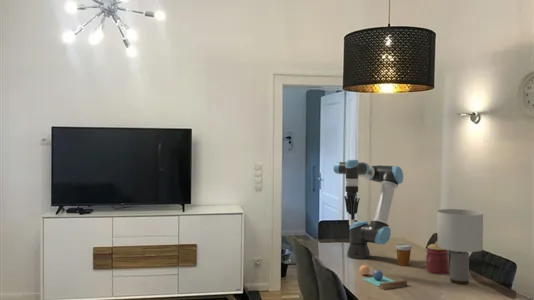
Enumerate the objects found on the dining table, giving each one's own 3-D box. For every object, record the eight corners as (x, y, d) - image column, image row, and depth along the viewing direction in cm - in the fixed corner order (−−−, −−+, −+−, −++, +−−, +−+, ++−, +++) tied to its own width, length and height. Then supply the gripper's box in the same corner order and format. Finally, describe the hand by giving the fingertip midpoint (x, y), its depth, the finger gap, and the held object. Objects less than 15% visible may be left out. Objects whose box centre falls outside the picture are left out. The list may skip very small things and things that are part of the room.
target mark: (361, 279, 252) (361, 278, 252) (382, 276, 258) (382, 275, 258) (377, 286, 240) (377, 285, 240) (399, 283, 245) (399, 282, 245)
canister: (448, 269, 272) (448, 240, 272) (449, 275, 260) (450, 244, 260) (425, 267, 276) (425, 238, 276) (425, 273, 264) (425, 242, 264)
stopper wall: (379, 288, 236) (380, 283, 236) (404, 284, 243) (404, 279, 243) (382, 289, 235) (382, 284, 235) (406, 285, 241) (407, 280, 241)
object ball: (373, 268, 250) (378, 276, 246) (381, 267, 252) (386, 274, 248) (369, 275, 253) (374, 283, 249) (377, 274, 255) (382, 281, 251)
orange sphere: (361, 266, 258) (363, 276, 257) (370, 264, 260) (371, 274, 259) (356, 265, 263) (358, 275, 262) (365, 264, 265) (367, 273, 264)
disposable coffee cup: (412, 267, 278) (412, 247, 277) (396, 266, 279) (396, 246, 279) (410, 263, 287) (410, 244, 287) (395, 262, 289) (395, 243, 289)
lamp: (427, 278, 253) (428, 210, 253) (458, 274, 262) (459, 208, 262) (460, 291, 232) (460, 216, 232) (492, 285, 241) (493, 213, 241)
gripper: (340, 184, 277) (340, 223, 278) (352, 186, 265) (352, 227, 266) (350, 184, 280) (350, 222, 281) (363, 186, 268) (363, 226, 269)
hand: (351, 224), depth 273 cm, fingers closed
